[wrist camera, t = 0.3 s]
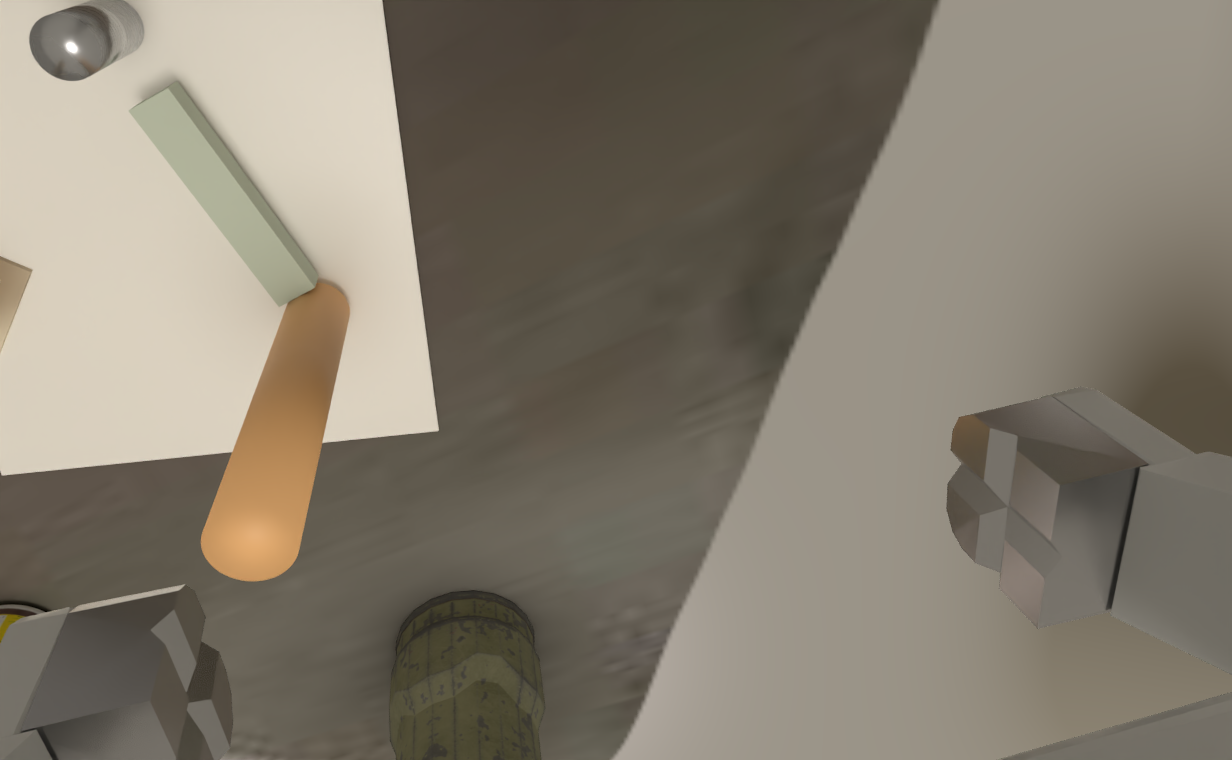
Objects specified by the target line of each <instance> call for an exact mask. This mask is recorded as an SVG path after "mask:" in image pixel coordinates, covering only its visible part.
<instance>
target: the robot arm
mask: <svg viewBox="0 0 1232 760" xmlns="http://www.w3.org/2000/svg"><path fill="white" fill-rule="evenodd" d="M951 451H952V452H953V454H954V455H955V456H956V457H957V459H958V460H959V461H960V462H961V465H960V467H959V468H958V470H957V471H956V472H955V474H954V475H953V477H952V478H951V480H950V481H949V482H948V487H947V512H948V516H949V520H950V524H951V527H952V531H953V533H954V535H955V537H956V538H957V540H958V542H959V544H960V546H961V548H962V549H963V550H964V551H965V552H966V553H967V554H968V556H969V557H970V558H971V559H972V560H973V561H974V562H975V563H977V564H980V565H982V566H985V567H987V568H990V569H993V570H995V571H997V572H1000V582H999V583H1000V584H999V589H1000V590H1001V591H1002V592H1003V593H1004V594H1005V595H1006V596H1007V597H1008V598H1009V599H1010V600H1011V601H1012V602H1013V603H1014V604H1015V606H1016V607H1017V608H1018V609H1019V610H1020V611H1021V612H1022V613H1023V614H1024V615H1025V616H1026V617H1027V618H1028V619H1029V620H1030V621H1031V622H1032V623H1033V624H1034V625H1035V626H1036V627H1037V628H1042V627H1046V626H1051V625H1055V624H1059V623H1063V622H1068V621H1072V620H1076V619H1081V618H1085V617H1089V616H1093V615H1098V614H1102V613H1106V612H1111V614H1110V615H1111V616H1113V617H1115V618H1117V619H1119V620H1121V621H1123V622H1125V623H1127V624H1129V625H1131V626H1133V627H1135V628H1137V629H1139V630H1141V631H1143V632H1145V633H1147V634H1149V635H1152V636H1153V637H1156V638H1158V639H1160V640H1162V641H1164V642H1166V643H1168V644H1170V645H1172V646H1174V647H1176V648H1178V649H1180V650H1182V651H1184V652H1186V653H1188V654H1190V655H1192V656H1194V657H1196V658H1199V659H1201V660H1203V661H1205V662H1207V663H1209V664H1211V665H1213V666H1215V667H1217V668H1219V669H1221V670H1223V671H1225V672H1227V673H1229V674H1231V675H1232V457H1229V456H1225V455H1220V454H1216V453H1212V452H1206V453H1201V454H1195V453H1193V452H1192V451H1190V450H1188V449H1187V448H1185V447H1184V446H1182V445H1181V444H1179V443H1178V442H1176V441H1175V440H1173V439H1172V438H1170V437H1168V436H1167V435H1165V434H1164V433H1162V432H1161V431H1159V430H1157V429H1156V428H1155V427H1153V426H1151V425H1150V424H1148V423H1147V422H1145V421H1144V420H1142V419H1141V418H1139V417H1138V416H1136V415H1134V414H1133V413H1131V412H1130V411H1128V410H1127V409H1125V408H1124V407H1122V406H1121V405H1119V404H1117V403H1116V402H1114V401H1113V400H1111V399H1109V398H1108V397H1106V396H1105V395H1104V394H1102V393H1100V392H1099V391H1097V390H1096V389H1091V388H1085V387H1078V388H1074V389H1070V390H1067V391H1062V392H1058V393H1054V394H1051V395H1047V396H1043V397H1041V398H1039V399H1035V400H1031V401H1026V402H1022V403H1017V404H1013V405H1009V406H1005V407H1000V408H996V409H992V410H987V411H983V412H979V413H974V414H970V415H966V416H961V417H959V419H958V421H957V423H956V425H955V427H954V429H953V433H952V442H951ZM205 619H206V616H205V614H204V612H203V609H202V607H201V605H200V602H199V600H198V598H197V595H196V593H195V591H194V590H193V589H191V588H190V587H189V586H187V585H186V584H185V585H180V586H175V587H170V588H165V589H160V590H155V591H150V592H145V593H140V594H135V595H130V596H125V597H120V598H114V599H109V600H104V601H99V602H94V603H89V604H84V605H79V606H77V607H76V608H74V607H69V608H64V609H60V610H55V611H51V612H46V613H42V614H37V615H32V616H28V617H23V618H21V619H19V620H17V621H16V622H14V623H12V624H11V625H10V626H9V627H8V629H7V630H6V633H5V635H4V637H3V639H2V641H1V643H0V760H220V759H221V758H222V757H223V755H224V754H225V753H226V752H227V751H228V750H229V748H230V744H231V736H232V728H233V712H232V694H231V690H230V685H229V681H228V676H227V672H226V669H225V666H224V663H223V661H222V658H221V655H220V653H219V651H217V650H215V649H214V648H212V647H210V646H208V645H207V644H205V643H203V642H202V641H201V639H202V634H203V629H204V624H205ZM998 760H1232V692H1230V693H1227V694H1223V695H1220V696H1217V697H1213V698H1209V699H1206V700H1203V701H1199V702H1196V703H1192V704H1189V705H1185V706H1182V707H1179V708H1175V709H1172V710H1168V711H1165V712H1161V713H1158V714H1154V715H1151V716H1147V717H1144V718H1141V719H1137V720H1133V721H1130V722H1126V723H1123V724H1120V725H1116V726H1113V727H1109V728H1106V729H1102V730H1099V731H1095V732H1092V733H1089V734H1085V735H1081V736H1078V737H1074V738H1071V739H1067V740H1064V741H1060V742H1057V743H1053V744H1050V745H1046V746H1043V747H1040V748H1036V749H1032V750H1029V751H1026V752H1022V753H1019V754H1015V755H1012V756H1008V757H1005V758H1001V759H998Z"/></svg>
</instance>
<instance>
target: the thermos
mask: <svg viewBox="0 0 1232 760" xmlns="http://www.w3.org/2000/svg"><path fill="white" fill-rule="evenodd" d="M396 656H397V658H396V661H395V664H394V667H393V670H392V674H391V689H390V704H389V721H390V742H391V745H392V747H393V749H394V752H395V754H396V760H541V752H540V742H539V733H538V730H539V727H540V724H541V720H542V717H543V714H544V710H545V702H544V694H543V685H542V677H541V669H540V661H539V657H538V655H537V653H536V651H535V649H534V633H533V629H532V626H531V624H530V622H529V620H528V618H527V615H526V614H525V613H524V612H522V611H521V610H520V609H519V608H518V607H517V606H516V605H515V604H514V603H513V602H511V601H509V600H506V599H504V598H502V597H500V596H498V595H496V594H491V593H485V592H479V591H464V592H452V593H449V594H446V595H443V596H440V597H437V598H434V599H431V600H429V601H428V602H426V603H425V604H423V605H422V606H420V607H419V608H417V609H416V610H414V611H413V612H412V614H411V615H410V616H409V617H408V619H407V620H406V621H405V622H404V623H403V625H402V626H401V629H400V632H399V635H398V638H397V641H396Z"/></svg>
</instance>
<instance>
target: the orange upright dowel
mask: <svg viewBox="0 0 1232 760" xmlns="http://www.w3.org/2000/svg"><path fill="white" fill-rule="evenodd" d="M129 112H130V114H131V115H132V116H133V118H134V119H135V120H136V122H137V123H138V124H139V125H140V127H141V128H142V129H143V131H144V132H145V133H146V135H147V136H148V137H149V139H150V140H151V141H152V142H153V144H154V145H155V146H156V148H157V149H158V150H159V152H160V153H161V154H162V155H163V157H164V158H165V159H166V161H167V162H168V163H169V165H170V166H171V167H172V168H173V170H174V171H175V172H176V174H177V175H178V176H179V178H180V179H181V180H182V181H183V183H184V184H185V185H186V187H187V188H188V189H189V191H190V192H191V193H192V195H193V196H194V197H195V198H196V200H197V201H198V202H199V204H200V205H201V206H202V208H203V209H204V210H205V211H206V213H207V214H208V215H209V217H210V218H211V219H212V221H213V222H214V223H215V224H216V226H217V227H218V228H219V230H220V231H221V232H222V234H223V235H224V236H225V237H226V239H227V240H228V241H229V243H230V244H231V245H232V247H233V248H234V249H235V251H236V252H237V253H238V254H239V256H240V257H241V258H242V260H243V261H244V262H245V264H246V265H247V266H248V267H249V269H250V270H251V271H252V273H253V274H254V275H255V277H256V278H257V279H258V280H259V282H260V283H261V284H262V286H263V287H264V288H265V290H266V291H267V292H268V294H269V295H270V296H271V297H272V299H273V300H274V301H275V303H276V304H277V305H278V307H280V306H282V305H284V304H286V303H288V304H287V306H286V309H285V312H284V314H283V317H282V320H281V322H280V325H279V328H278V330H277V333H276V336H275V339H274V341H273V344H272V347H271V349H270V352H269V355H268V357H267V360H266V363H265V366H264V368H263V371H262V374H261V376H260V379H259V382H258V384H257V387H256V390H255V392H254V395H253V398H252V401H251V403H250V406H249V409H248V411H247V414H246V417H245V419H244V422H243V425H242V427H241V430H240V433H239V436H238V438H237V441H236V444H235V446H234V449H233V452H232V454H231V457H230V460H229V462H228V465H227V468H226V471H225V473H224V476H223V479H222V481H221V484H220V487H219V489H218V492H217V495H216V498H215V500H214V503H213V506H212V508H211V511H210V514H209V516H208V519H207V522H206V524H205V527H204V530H203V533H202V536H201V547H202V551H203V554H204V556H205V558H206V559H207V561H208V562H209V563H210V564H211V565H212V566H213V567H214V568H215V569H216V570H218V571H219V572H221V573H222V574H224V575H226V576H229V577H231V578H234V579H238V580H243V581H262V580H267V579H271V578H274V577H276V576H278V575H280V574H282V573H283V572H285V571H286V570H287V569H289V567H290V566H291V565H292V564H293V563H294V561H295V560H296V558H297V555H298V552H299V547H300V543H301V538H302V534H303V529H304V524H305V520H306V515H307V511H308V506H309V501H310V497H311V492H312V488H313V483H314V478H315V474H316V469H317V465H318V460H319V455H320V451H321V446H322V442H323V437H324V432H325V428H326V423H327V419H328V414H329V409H330V405H331V400H332V396H333V391H334V386H335V382H336V377H337V373H338V368H339V363H340V359H341V354H342V350H343V345H344V340H345V336H346V331H347V327H348V322H349V317H350V308H349V304H348V302H347V299H346V298H345V296H344V295H343V294H342V293H341V292H340V291H339V290H337V289H336V288H334V287H333V286H330V285H328V284H324V283H317V279H318V276H319V275H318V274H317V272H316V271H315V270H314V268H313V267H312V265H311V264H310V263H309V261H308V260H307V259H306V257H305V256H304V254H303V253H302V252H301V250H300V249H299V248H298V246H297V245H296V243H295V242H294V241H293V239H292V238H291V237H290V235H289V234H288V232H287V231H286V230H285V228H284V227H283V226H282V224H281V223H280V221H279V220H278V219H277V217H276V216H275V215H274V213H273V212H272V210H271V209H270V208H269V206H268V205H267V204H266V202H265V201H264V199H263V198H262V197H261V195H260V194H259V193H258V191H257V190H256V189H255V187H254V186H253V184H252V183H251V182H250V180H249V179H248V178H247V176H246V175H245V173H244V172H243V171H242V169H241V168H240V167H239V165H238V164H237V162H236V161H235V160H234V158H233V157H232V156H231V154H230V153H229V151H228V150H227V149H226V147H225V146H224V145H223V143H222V142H221V140H220V139H219V138H218V136H217V135H216V134H215V132H214V131H213V129H212V128H211V127H210V125H209V124H208V123H207V121H206V120H205V118H204V117H203V116H202V114H201V113H200V112H199V110H198V109H197V107H196V106H195V105H194V103H193V102H192V101H191V99H190V98H189V96H188V95H187V94H186V92H185V91H184V90H183V88H182V87H181V85H180V84H179V83H178V81H176V82H175V83H173V84H171V85H169V86H168V87H166V88H164V89H162V90H161V91H159V92H157V93H156V94H154V95H152V96H150V97H149V98H147V99H145V100H143V101H142V102H140V103H138V104H137V105H136V106H134V107H133V108H131V109H130V110H129Z"/></svg>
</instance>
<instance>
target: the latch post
mask: <svg viewBox="0 0 1232 760" xmlns="http://www.w3.org/2000/svg"><path fill="white" fill-rule="evenodd" d="M32 271H33V270H32V269H30V268H27V267H25V266H23V265H20V264H18V263H15V262H13V261H11V260H8V259H6V258H3V257H1V256H0V353H1V351H2V348H3V345H4V343H5V340H6V338H7V335H8V333H9V330H10V327H11V325H12V322H13V320H14V317H15V315H16V312H17V309H18V307H19V304H20V302H21V299H22V297H23V294H24V291H25V289H26V286H27V284H28V281H29V279H30V276H31V273H32Z"/></svg>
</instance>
